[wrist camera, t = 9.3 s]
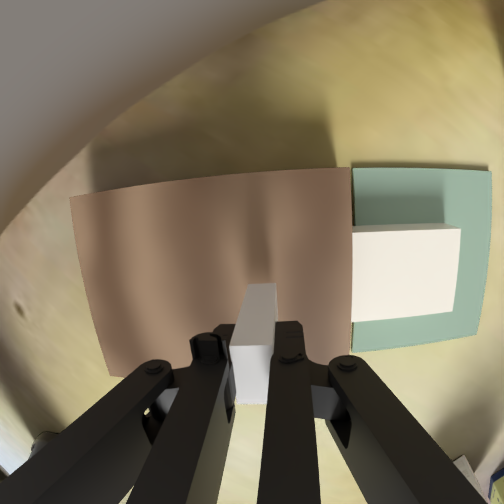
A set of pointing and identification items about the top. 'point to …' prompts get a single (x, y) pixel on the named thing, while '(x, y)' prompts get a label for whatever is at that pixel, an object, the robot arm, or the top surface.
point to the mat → (428, 211)
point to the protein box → (497, 488)
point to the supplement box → (468, 473)
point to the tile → (403, 270)
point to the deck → (215, 260)
